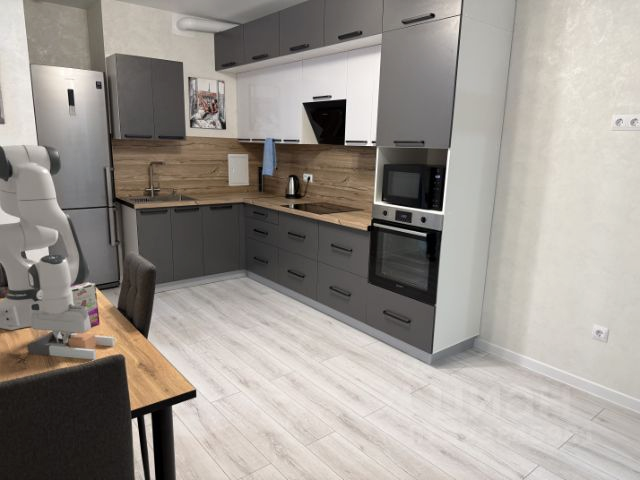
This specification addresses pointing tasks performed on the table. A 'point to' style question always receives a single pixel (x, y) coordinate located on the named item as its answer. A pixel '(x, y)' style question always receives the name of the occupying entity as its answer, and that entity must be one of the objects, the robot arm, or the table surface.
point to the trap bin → (45, 344)
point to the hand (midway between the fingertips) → (62, 342)
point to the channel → (80, 351)
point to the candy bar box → (87, 300)
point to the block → (83, 341)
